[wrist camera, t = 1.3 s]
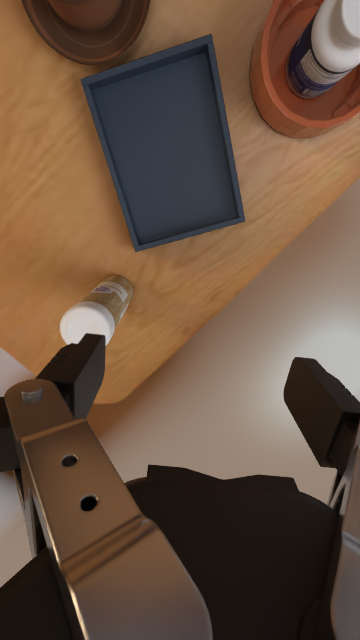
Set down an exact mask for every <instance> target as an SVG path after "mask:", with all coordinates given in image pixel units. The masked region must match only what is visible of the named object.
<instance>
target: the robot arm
mask: <svg viewBox="0 0 360 640" xmlns="http://www.w3.org/2000/svg"><path fill="white" fill-rule="evenodd" d="M105 345H106V338H105V335H100V334H91V333H86V334H85V335H84V336H83V338H82V339H81V340H80V342H79V343H78V344H75V343H71V344H69V345H67V346H65V347H63V348H61V349H60V350H59V351H58V353H57V354H56V355H55V357H53V358H52V360H51V361H50V362H49V363H48V364H47V365H46V367H45V368H44V369H43V370H42V371H41V372H40V374H39V375H38V376H37V377H36V378H35V379H32V380H26V381H23V382H20V383H17V384H15V385H14V386H12V387H11V388H9V389H8V390H7V392H6V393H5V396H4V397H0V472H4V471H9V470H13V473H14V477H15V481H16V485H17V490H18V494H19V497H20V502H21V506H22V510H23V514H24V518H25V522H26V527H27V533H28V539H29V545H30V550H31V555H32V560H31V561H30V562H29V563H28V564H26V565H25V566H24V567H23V568H22V569H21V570H20V571H19V572H17V573H16V574H15V575H14V576H13V577H12V578H11V579H10V580H9V581H7V582H6V583H5V584H4V585H3V586H2V587H1V588H0V640H360V402H359V401H358V400H357V399H356V398H355V397H354V396H353V395H351V393H350V392H349V391H348V389H347V388H345V386H344V385H343V384H342V383H341V382H340V381H339V380H338V379H337V378H335V377H334V376H332V375H331V374H329V373H328V372H326V371H325V369H324V368H323V367H322V366H321V365H320V364H319V363H318V362H317V361H316V360H315V359H310V358H301V357H295V358H294V360H293V361H292V364H291V368H290V371H289V374H288V377H287V381H286V384H285V387H284V401H285V403H286V405H287V407H288V409H289V411H290V412H291V414H292V416H293V418H294V420H295V421H296V423H297V425H298V427H299V429H300V431H301V432H302V434H303V436H304V438H305V439H306V441H307V443H308V445H309V447H310V448H311V450H312V452H313V454H314V456H315V458H316V460H317V461H318V463H319V465H320V466H321V467H330V468H336V469H337V473H336V475H335V477H334V481H333V484H332V488H331V491H330V495H329V498H328V502H327V505H326V504H325V503H323V502H321V501H320V500H317V499H316V498H314V497H312V496H310V495H307V494H305V493H303V492H299V490H298V488H297V485H296V483H295V481H294V479H293V478H290V477H279V476H268V475H253V476H246V477H240V478H234V479H228V480H222V479H218V478H215V477H212V476H209V475H205V474H202V473H199V472H196V471H193V470H190V469H187V468H180V467H170V466H159V465H148V471H147V477H143V478H138V479H135V480H131V481H128V482H126V483H123V481H122V479H121V477H120V476H119V474H118V472H117V471H116V469H115V467H114V466H113V464H112V462H111V461H110V459H109V457H108V456H107V454H106V453H105V451H104V449H103V447H102V446H101V444H100V442H99V441H98V439H97V437H96V436H95V434H94V432H93V431H92V429H91V427H90V426H89V424H88V422H87V421H86V420H85V419H86V417H87V415H88V413H89V410H90V408H91V406H92V404H93V402H94V399H95V397H96V395H97V393H98V391H99V388H100V386H101V384H102V381H103V377H104V371H105Z"/></svg>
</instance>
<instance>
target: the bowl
mask: <svg viewBox="0 0 360 640" xmlns="http://www.w3.org/2000/svg"><path fill="white" fill-rule="evenodd" d="M323 2H324V0H274V1H273V3H272V5H271V7H270V10H269V12H268V14H267V16H266V19H265V21H264V23H263V25H262V28H261V30H260V33H259V35H258V38H257V41H256V44H255V46H254V49H253V52H252V60H251V70H250V80H251V87H252V94H253V98H254V101H255V103H256V105H257V107H258V110H259V112H260V114H261V116H262V118H263V119H264V120H265V121H266V122H267V123H268V124H269V125H270V126H271V127H272V128H273V129H274V130H276V131H278V132H280V133H282V134H284V135H286V136H289V137H292V138H311V137H314V136H318V135H321V134H324V133H327V132H329V131H330V130H332V129H334V128H336V127H338V126H340V125H341V124H343V123H345V122H347V121H348V120H350V119H351V118H353V117H354V116H356V115H357V114H359V113H360V64H359V65H357V66H356V67H355V68H354V69H353V70H351V71H350V72H349V73H348V74H347V75H345V76H344V77H343V78H342V79H340V80H339V81H338V82H337V83H336V84H335V85H333V86H332V87H331V88H330V89H329V90H327V91H326V92H325V93H323V94H322V95H320V96H318V97H315V98H310V99H306V98H301V97H299V96H297V95H296V94H295V93H294V92H293V91H292V90H291V89H290V87H289V85H288V82H287V79H286V64H287V59H288V56H289V54H290V52H291V50H292V48H293V46H294V44H295V43H296V41H297V40H298V38H299V37H300V35H301V34H302V32H303V31H304V29H305V28H306V27H307V25H308V24H309V22H310V21H311V19H312V18H313V16H314V15H315V13H316V12H317V10H318V9H319V7H320V6H321V4H322V3H323Z"/></svg>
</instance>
